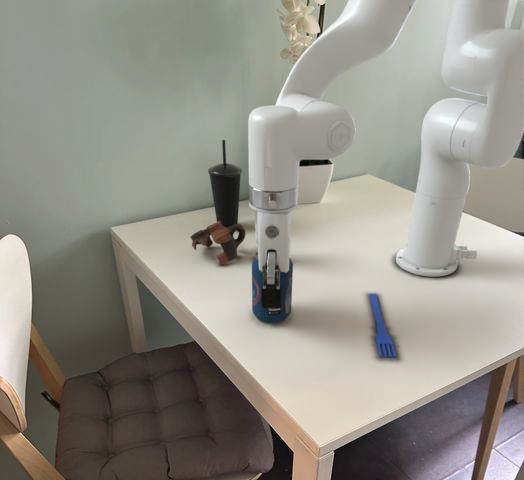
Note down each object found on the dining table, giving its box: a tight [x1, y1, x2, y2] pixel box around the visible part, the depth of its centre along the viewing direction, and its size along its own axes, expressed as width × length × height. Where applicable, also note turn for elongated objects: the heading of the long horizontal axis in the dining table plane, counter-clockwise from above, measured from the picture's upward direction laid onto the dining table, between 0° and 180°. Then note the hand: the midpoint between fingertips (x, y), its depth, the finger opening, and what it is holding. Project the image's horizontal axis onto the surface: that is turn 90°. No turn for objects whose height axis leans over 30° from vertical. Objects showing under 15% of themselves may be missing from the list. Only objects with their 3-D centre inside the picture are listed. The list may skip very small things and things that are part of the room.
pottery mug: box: [189, 221, 247, 266], centre depth 109 cm, size 12×10×8 cm
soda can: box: [251, 251, 294, 325], centre depth 87 cm, size 7×7×12 cm
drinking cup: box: [207, 139, 243, 227], centre depth 116 cm, size 8×8×20 cm
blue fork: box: [368, 293, 397, 359], centre depth 88 cm, size 19×3×1 cm, turn 177°
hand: (271, 295), depth 88 cm, fingers closed on soda can, 7 cm apart
